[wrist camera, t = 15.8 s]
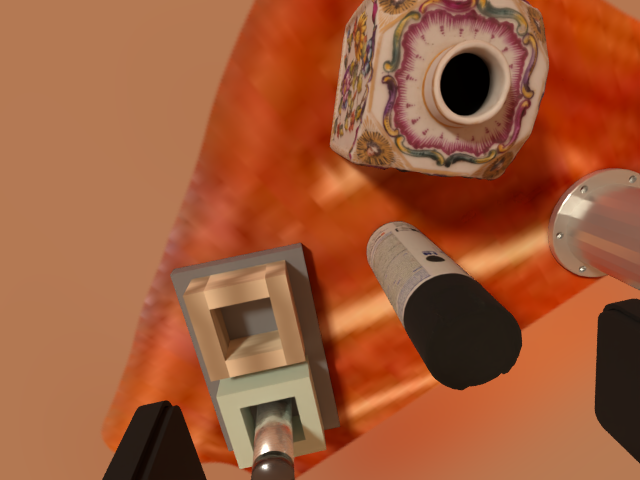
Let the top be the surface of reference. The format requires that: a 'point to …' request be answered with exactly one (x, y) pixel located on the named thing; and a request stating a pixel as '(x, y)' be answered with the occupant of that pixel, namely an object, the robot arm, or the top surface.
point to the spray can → (443, 308)
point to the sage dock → (266, 388)
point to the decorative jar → (439, 85)
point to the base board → (265, 322)
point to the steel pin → (273, 441)
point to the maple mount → (253, 350)
